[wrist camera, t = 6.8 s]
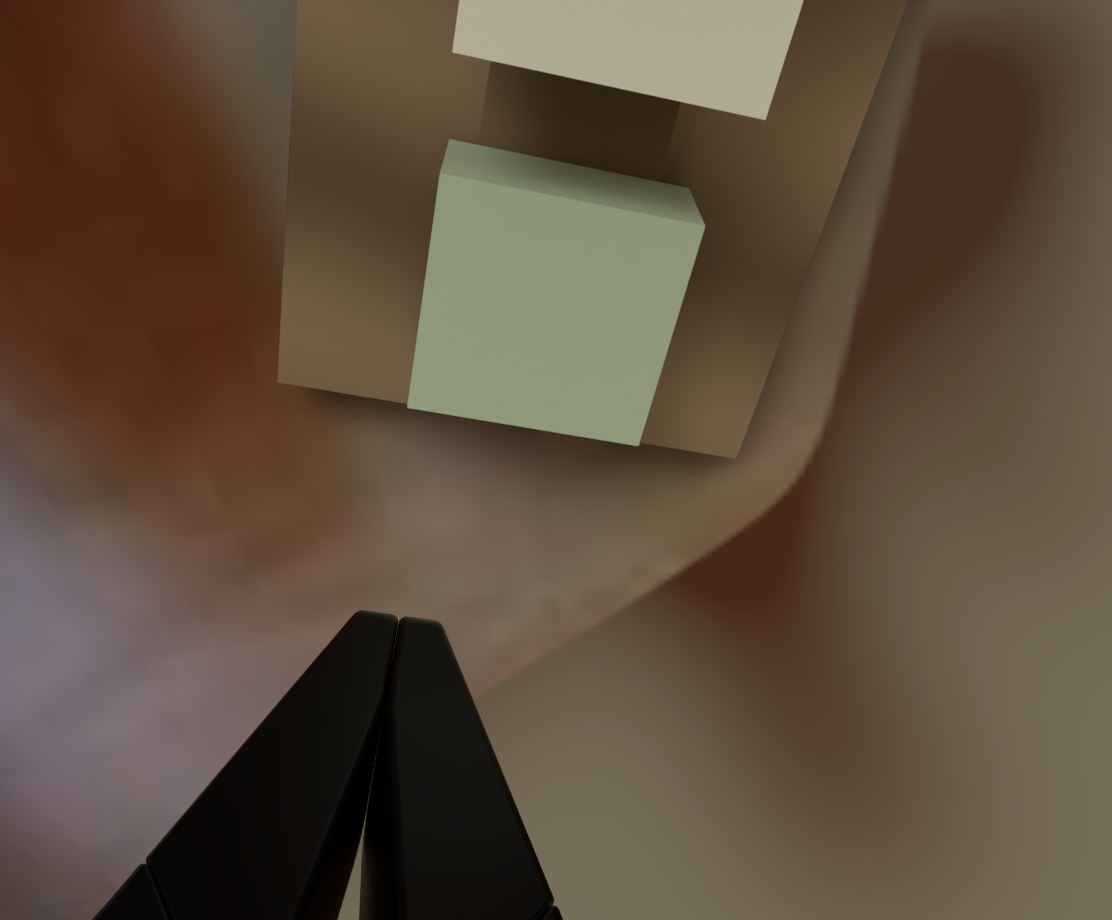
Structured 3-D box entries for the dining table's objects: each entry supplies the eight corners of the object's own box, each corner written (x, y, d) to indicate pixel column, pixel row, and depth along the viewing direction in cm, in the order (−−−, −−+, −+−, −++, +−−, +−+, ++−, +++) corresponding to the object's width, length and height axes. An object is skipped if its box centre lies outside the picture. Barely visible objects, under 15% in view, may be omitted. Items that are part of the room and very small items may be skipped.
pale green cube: (623, 360, 21) (638, 446, 18) (425, 325, 20) (407, 407, 17) (678, 163, 18) (705, 226, 16) (455, 117, 18) (439, 173, 15)
